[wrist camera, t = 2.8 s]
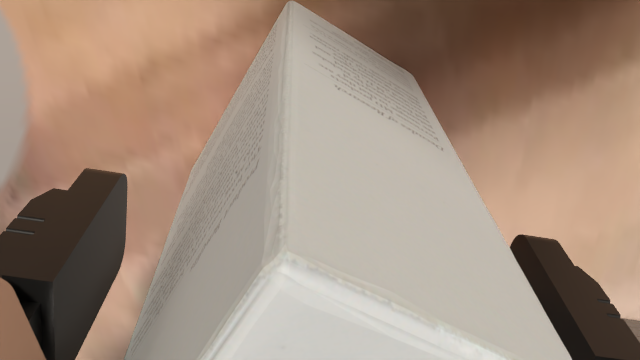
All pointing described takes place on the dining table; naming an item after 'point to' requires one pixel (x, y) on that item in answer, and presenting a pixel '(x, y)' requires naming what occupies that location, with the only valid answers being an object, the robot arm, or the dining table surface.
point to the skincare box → (335, 225)
